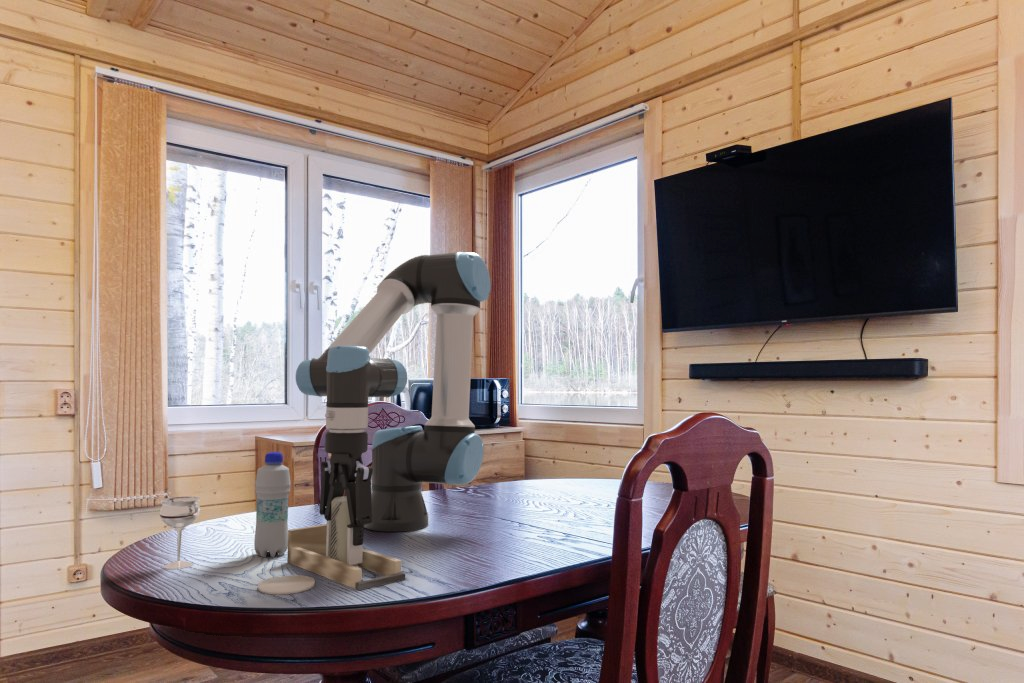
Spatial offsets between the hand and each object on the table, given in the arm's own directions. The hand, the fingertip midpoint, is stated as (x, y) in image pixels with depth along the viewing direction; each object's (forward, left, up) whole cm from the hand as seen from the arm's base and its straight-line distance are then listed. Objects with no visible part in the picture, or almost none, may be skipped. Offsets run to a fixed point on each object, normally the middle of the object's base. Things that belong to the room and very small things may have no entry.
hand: (343, 559), depth 126 cm
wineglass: (-24, -20, -2) cm, 31 cm away
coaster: (+2, -12, -2) cm, 12 cm away
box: (0, 0, -2) cm, 2 cm away
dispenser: (0, 0, -2) cm, 2 cm away
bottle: (-20, -4, -2) cm, 21 cm away
